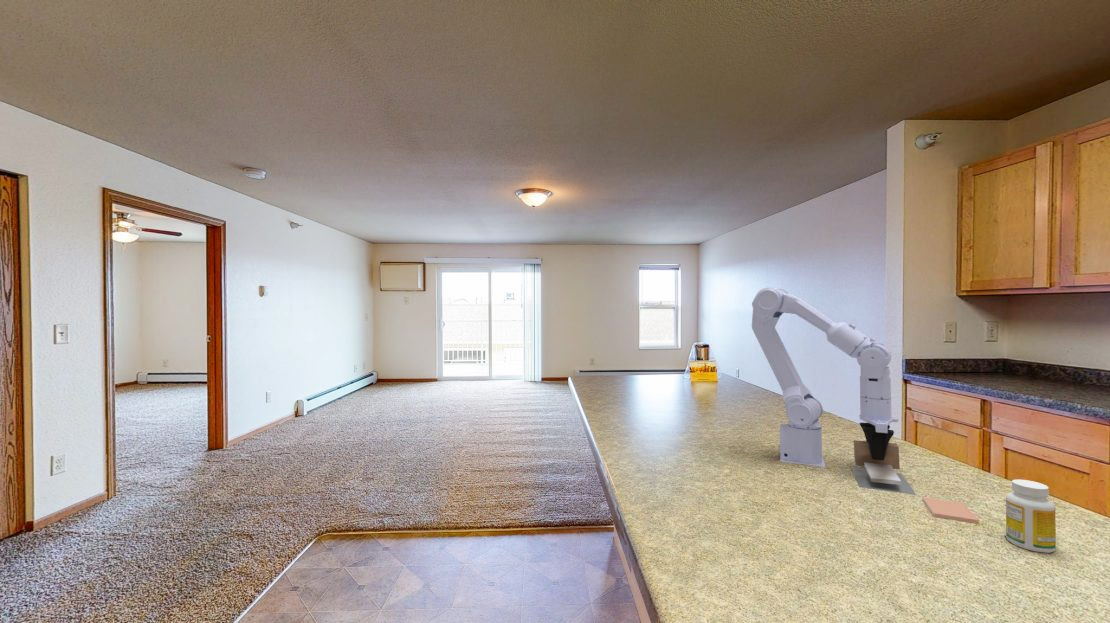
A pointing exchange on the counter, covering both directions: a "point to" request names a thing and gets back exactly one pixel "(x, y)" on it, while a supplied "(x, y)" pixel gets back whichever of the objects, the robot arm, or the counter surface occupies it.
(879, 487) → the tool rest
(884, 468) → the brown grey l-shaped piece
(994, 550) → the counter surface
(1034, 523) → the supplement bottle
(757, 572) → the counter surface
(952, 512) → the tile
